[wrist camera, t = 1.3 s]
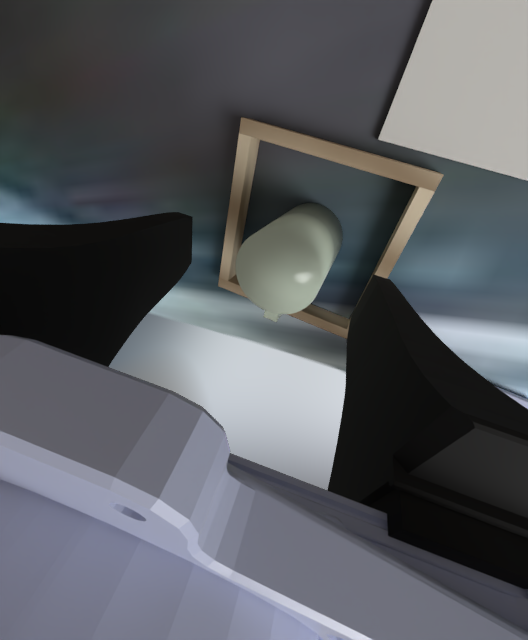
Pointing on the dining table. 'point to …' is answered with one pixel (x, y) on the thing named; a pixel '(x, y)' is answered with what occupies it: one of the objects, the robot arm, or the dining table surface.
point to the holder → (331, 151)
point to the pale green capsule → (289, 259)
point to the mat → (467, 86)
